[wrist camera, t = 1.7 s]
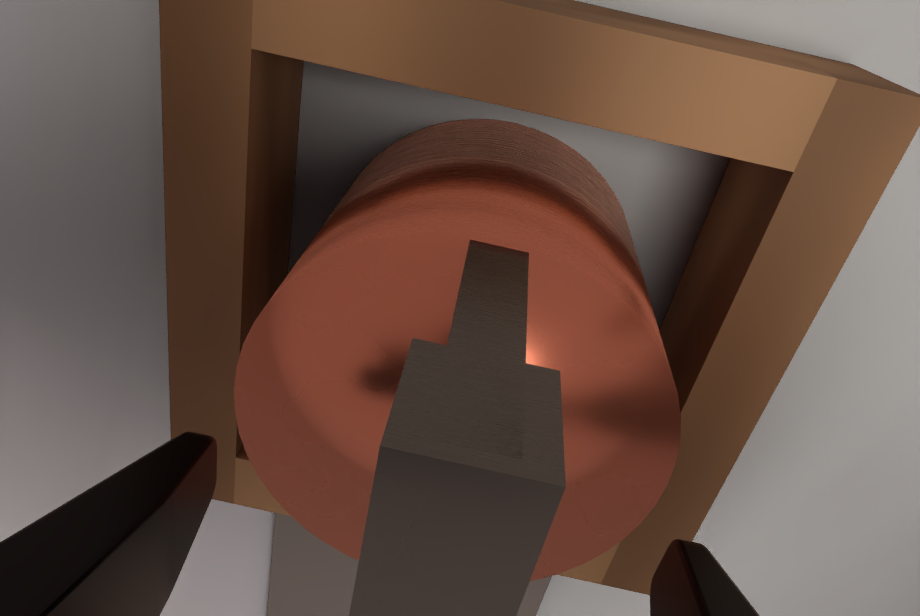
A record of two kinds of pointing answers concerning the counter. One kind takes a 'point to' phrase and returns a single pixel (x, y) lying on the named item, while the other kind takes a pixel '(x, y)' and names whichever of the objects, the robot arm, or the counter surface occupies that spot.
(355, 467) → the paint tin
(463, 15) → the holder
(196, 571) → the counter surface
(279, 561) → the mat
